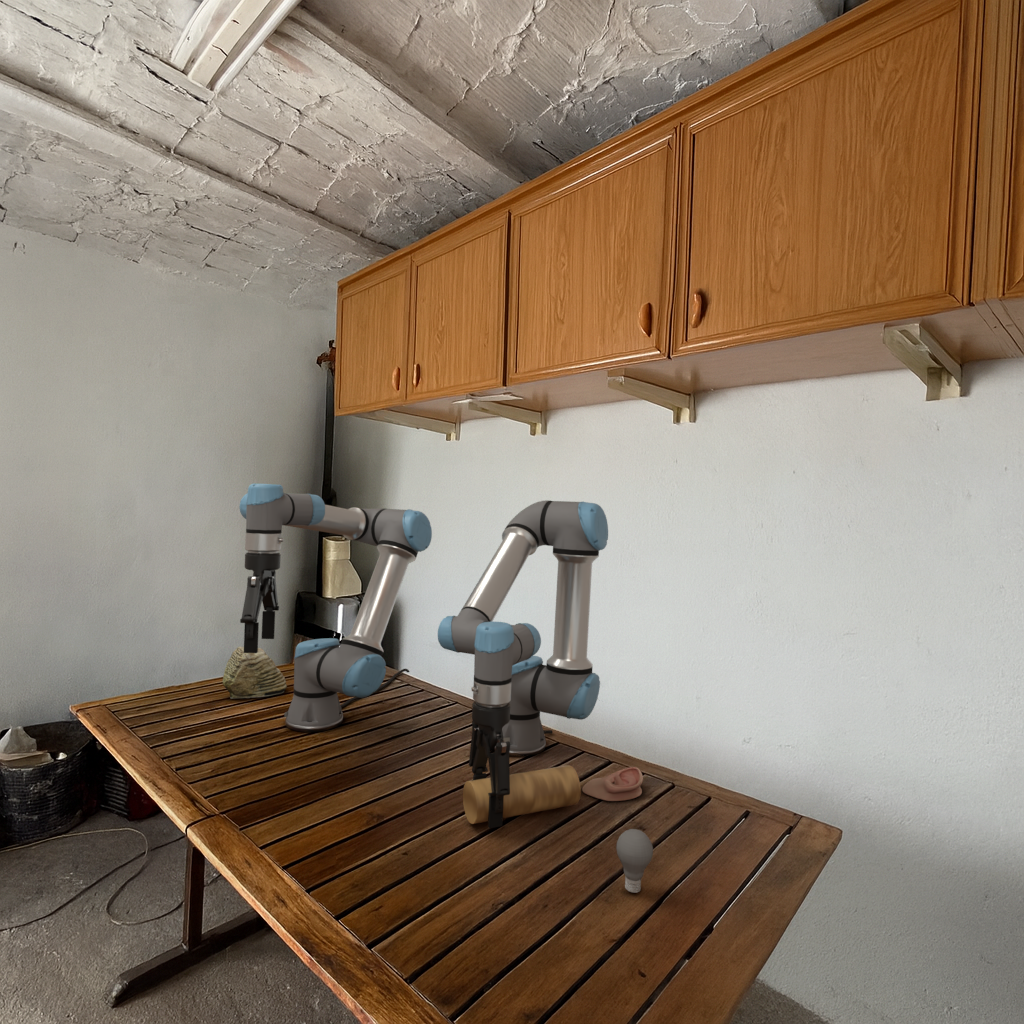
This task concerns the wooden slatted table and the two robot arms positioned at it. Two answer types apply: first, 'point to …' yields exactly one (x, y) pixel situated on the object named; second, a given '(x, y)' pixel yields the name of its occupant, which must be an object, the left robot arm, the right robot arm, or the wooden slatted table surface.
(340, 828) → the wooden slatted table surface
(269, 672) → the fossil
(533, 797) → the tan wooden cylinder
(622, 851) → the light bulb
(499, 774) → the right robot arm
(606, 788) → the anatomical model
